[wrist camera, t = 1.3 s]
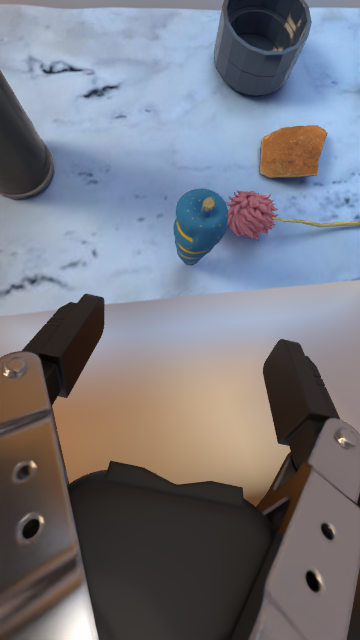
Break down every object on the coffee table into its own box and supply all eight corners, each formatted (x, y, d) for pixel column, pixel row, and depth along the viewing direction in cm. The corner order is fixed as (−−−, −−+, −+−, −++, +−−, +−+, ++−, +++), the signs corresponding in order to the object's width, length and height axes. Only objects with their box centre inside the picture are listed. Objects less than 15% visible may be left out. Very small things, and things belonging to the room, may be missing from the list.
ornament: (164, 249, 34) (167, 175, 19) (198, 239, 34) (227, 160, 20) (176, 283, 34) (188, 235, 19) (210, 273, 34) (248, 218, 19)
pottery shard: (322, 132, 38) (333, 117, 35) (324, 187, 37) (336, 175, 34) (258, 126, 37) (265, 110, 35) (258, 181, 36) (266, 169, 34)
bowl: (218, 101, 37) (229, 55, 31) (208, 32, 38) (217, -26, 32) (293, 99, 38) (317, 54, 32) (281, 32, 39) (303, -24, 33)
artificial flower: (352, 206, 40) (213, 200, 34) (400, 186, 33) (236, 174, 27) (353, 246, 40) (216, 247, 35) (399, 234, 34) (239, 233, 28)
